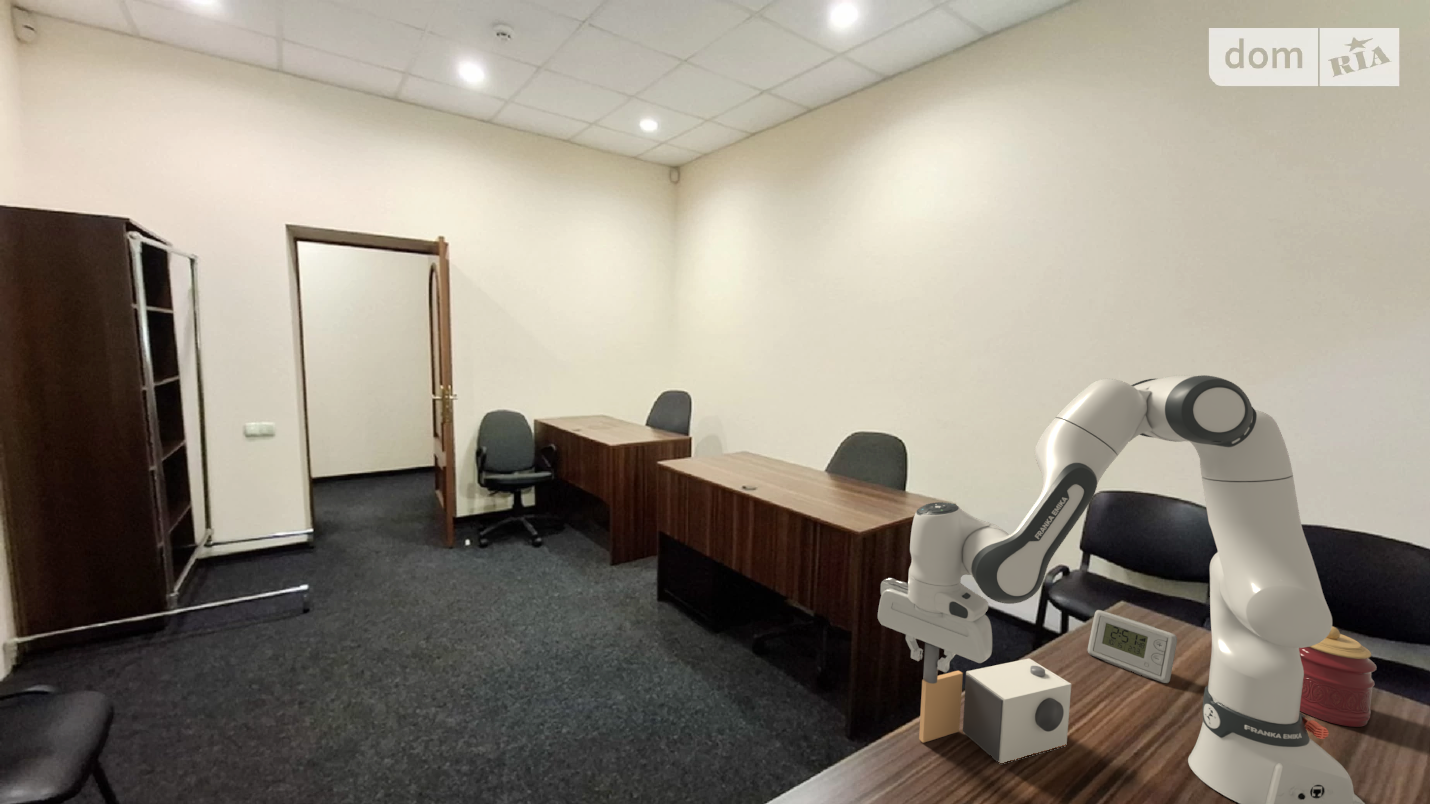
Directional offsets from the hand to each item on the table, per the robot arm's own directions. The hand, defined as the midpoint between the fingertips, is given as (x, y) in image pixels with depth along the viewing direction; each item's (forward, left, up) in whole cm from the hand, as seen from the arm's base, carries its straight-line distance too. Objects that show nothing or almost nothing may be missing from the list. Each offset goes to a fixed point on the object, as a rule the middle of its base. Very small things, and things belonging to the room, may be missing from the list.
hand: (929, 664), depth 103 cm
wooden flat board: (-3, -1, -14) cm, 15 cm away
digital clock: (-53, -34, -15) cm, 65 cm away
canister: (-84, -24, -15) cm, 89 cm away
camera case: (-16, -3, -15) cm, 22 cm away
